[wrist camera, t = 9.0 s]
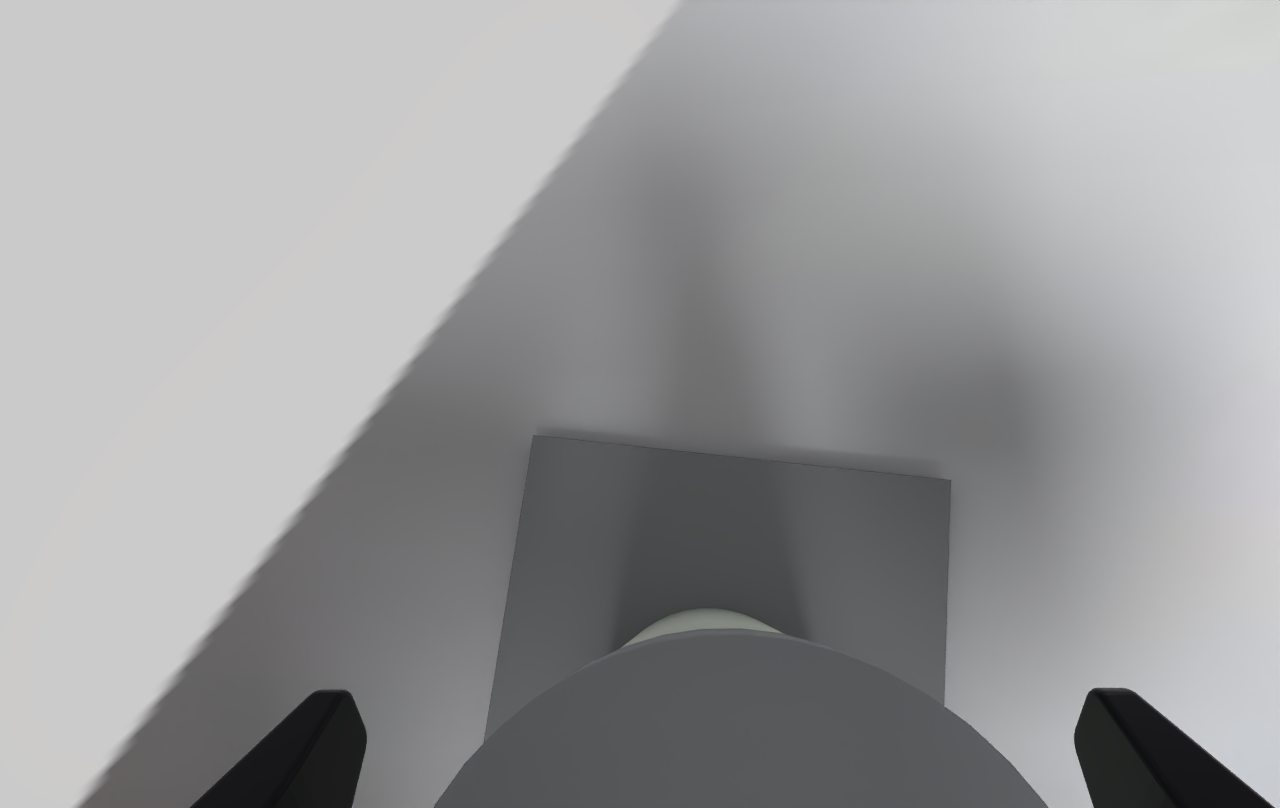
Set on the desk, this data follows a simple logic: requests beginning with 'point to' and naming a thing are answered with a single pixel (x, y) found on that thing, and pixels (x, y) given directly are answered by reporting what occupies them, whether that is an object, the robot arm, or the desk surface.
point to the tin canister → (734, 732)
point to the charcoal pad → (719, 559)
